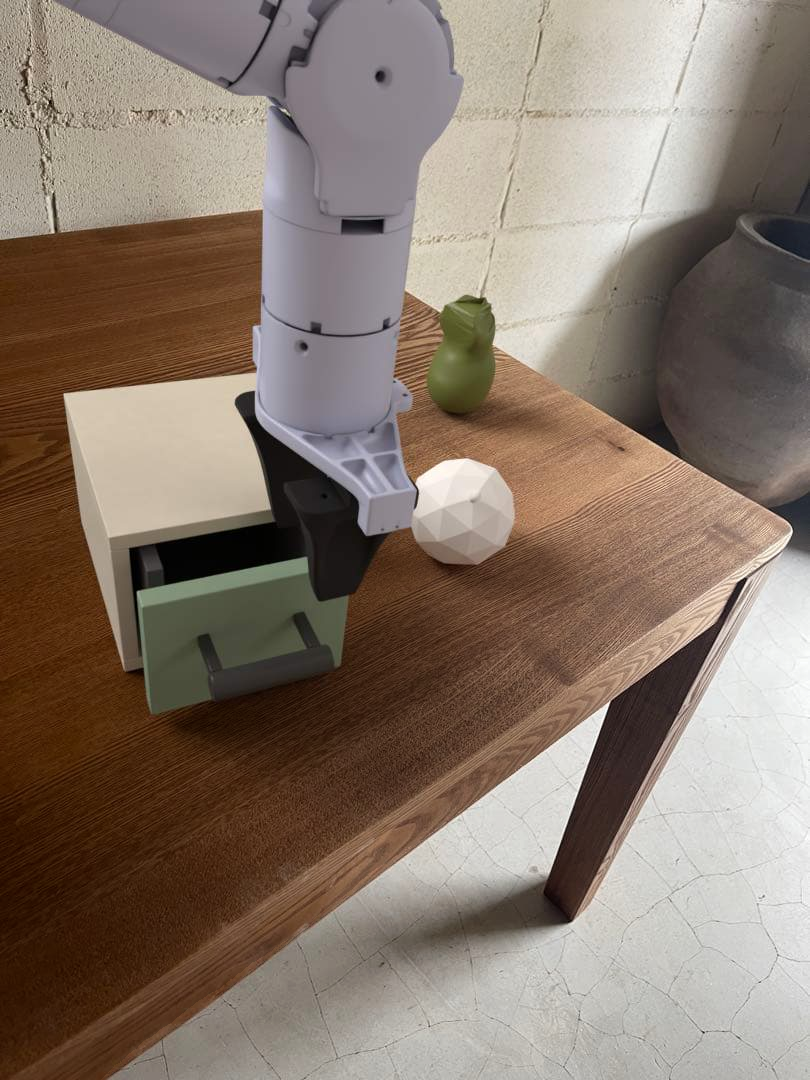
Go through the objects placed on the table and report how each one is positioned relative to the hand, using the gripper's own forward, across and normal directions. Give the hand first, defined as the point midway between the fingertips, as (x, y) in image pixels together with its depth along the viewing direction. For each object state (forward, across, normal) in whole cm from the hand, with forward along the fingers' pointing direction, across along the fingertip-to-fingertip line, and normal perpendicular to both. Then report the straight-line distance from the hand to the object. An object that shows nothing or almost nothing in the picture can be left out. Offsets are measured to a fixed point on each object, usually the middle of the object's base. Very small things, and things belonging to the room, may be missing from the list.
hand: (314, 555), depth 44 cm
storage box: (+9, +10, +4) cm, 14 cm away
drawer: (+8, +4, +4) cm, 10 cm away
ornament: (+9, +7, -14) cm, 18 cm away
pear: (+9, +24, -23) cm, 34 cm away
